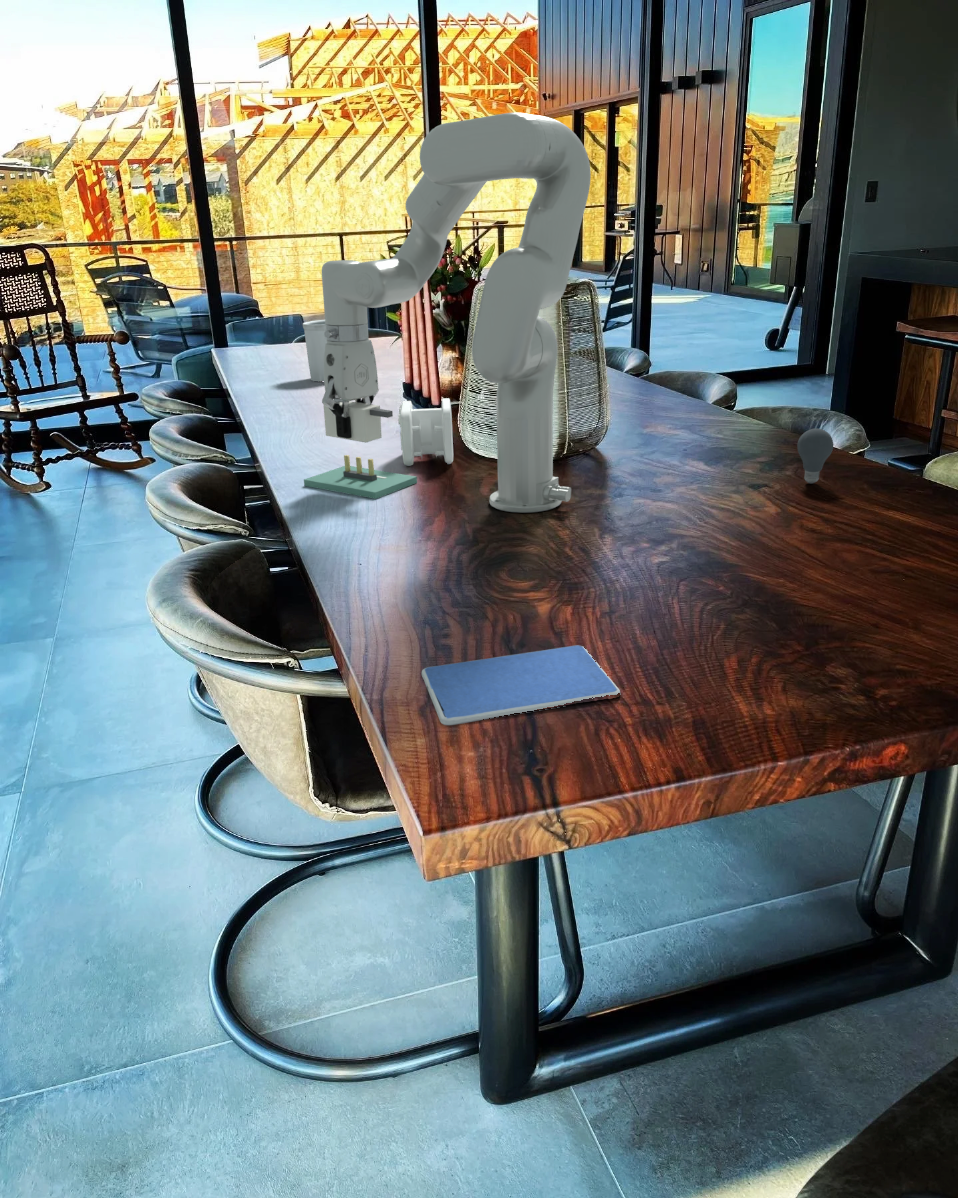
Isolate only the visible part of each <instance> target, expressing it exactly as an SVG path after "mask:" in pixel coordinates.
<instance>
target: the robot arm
mask: <svg viewBox="0 0 958 1198" xmlns="http://www.w3.org/2000/svg"><path fill="white" fill-rule="evenodd" d="M419 163H420V166H421V170H422V172H423V175H422V176H421V177H420V179H419V181H418V182H417V183H416V185H415V186H414V188H413V189H412V191H411V192H410V194H409V195H408V196H407V197H406V201H405V211H406V213H407V215H408V216H409V218H410V219H411V222H412V223H411V227H410V228H411V229H410V231H409V233H408V235H407V237H406V239H405V241H403V243H402V244H401V246H400V248H399V249H398V251H397V252H396V253H395V254H394V256H393V257H392V258H383V259H377V260H368V261H363V262H360V261H358V260H351V259H350V260H349V259H346V260H345V259H344V260H343V259H342V260H341V259H339V260H330V261H326V262H324V263H323V264H322V267H321V283H322V295H323V297H322V298H323V308H324V309H323V310H324V312H323V313H324V320H325V326H326V331H325V333H324V335H325V337H326V339H327V343H326V344H325V354H324V382H323V383H324V394H323V398H322V400H321V403H322V404H324V405H325V406H327V407H328V408H329V409H330V410H331V411H332V412H333V415H334V416H336V430H337V436H338V437H342V438H348V439H349V438H351V437H352V435H351V420H350V417H349V416H348V408H349V401H351V402H353V401H354V402H358V403H365V404H372V405H373V401H374V399H375V397H376V395H377V394H378V393H379V390H380V388H379V379H378V369H377V368H378V367H377V361H376V356H375V355H376V354H375V350H374V346H373V343H372V339H369V324H368V323H369V322H368V308H372V309H373V308H374V309H376V308H382V307H387V306H390V305H396V304H402V303H405V302H406V303H407V302H408V301H410V300H411V299H413V298H414V297H415V296H416V295H417V294H418V293H419V292H420V291H421V290H422V288H423V287H424V286H425V284H426V283H427V281H428V280H429V279H430V278H431V277H432V275H433V274H434V273H435V270H436V269H437V268H438V266H439V264H440V262H441V260H442V259H443V258H442V257H443V256H444V252H445V248H446V247H447V246H446V245H447V241H448V237H449V234H450V233H451V231H452V230H453V229H454V227H455V226H456V224H457V223H458V222H459V220H460V219H461V217H462V216H463V214H464V213H465V211H466V210H467V209H468V207H469V206H470V204H471V203H472V202H473V200H474V199H475V198H476V197H477V195H478V194H479V193H480V191H481V190H482V188H483V187H484V186H485V184H486V183H487V182H493V181H498V180H499V181H500V180H509V179H512V180H513V179H529V180H530V179H531V180H535V182H536V189H535V192H534V195H533V196H532V198H531V201H530V204H529V205H528V208H527V211H526V216H525V220H524V227H523V229H522V230H523V231H522V234H521V238H520V242H519V244H518V247H514V248H510V249H508V250H506V251H505V252H502V253H501V254H500V255H499V256H498V257H496V258H495V260H494V261H493V262H492V265H491V266H490V267H489V270H488V272H487V275H486V277H485V280H484V285H483V288H482V293H481V298H480V303H479V307H478V313H477V317H476V322H475V325H474V326H475V327H474V332H473V336H472V342H471V343H472V344H471V345H472V346H471V356H472V362H473V364H474V366H475V369H476V370H477V372H478V374H479V375H480V376H481V377H482V378H484V379H485V380H486V381H488V382H491V383H494V384H497V389H496V401H495V402H496V408H495V409H496V442H497V443H496V448H497V449H496V450H497V451H496V453H497V490H496V491H494V492H492V493H491V494H490V496H489V504H490V506H491V507H493V508H495V509H497V510H499V511H504V512H510V513H523V514H527V513H538V512H539V513H540V512H544V511H549V510H553V509H555V508H556V507H559V506H560V505H561V504H562V502H569V501H570V500H571V498H572V487H571V486H570V487H569V486H563V485H562V486H560V484H559V477H558V476H554V475H553V474H554V473H553V472H554V471H553V470H554V463H553V462H554V461H553V460H554V459H553V458H554V455H553V454H554V453H553V451H554V447H553V446H554V437H553V436H554V435H553V434H554V431H553V429H554V428H553V427H554V425H553V423H554V422H553V421H554V385H555V376H556V368H557V367H556V366H557V359H558V341H557V336H556V333H555V330H554V329H553V327H552V326H551V324H550V323H549V322H548V321H547V320H546V319H544V318H543V317H541V316H539V313H540V310H543V309H547V308H550V307H552V306H553V305H555V304H557V303H558V302H559V300H560V299H562V297H563V295H564V293H565V291H566V288H567V285H568V281H569V277H570V271H571V267H572V264H573V259H574V254H575V251H576V247H577V244H578V239H579V233H580V229H581V225H582V221H583V216H584V215H585V214H584V213H585V209H586V205H587V201H588V197H589V192H590V187H591V176H592V175H591V173H592V171H591V164H590V159H589V155H588V152H587V150H586V148H585V146H584V144H583V142H582V141H581V139H580V138H579V137H578V136H577V134H576V133H575V132H574V131H573V130H572V129H571V128H569V126H567V125H566V124H564V123H563V122H561V121H559V120H556V119H554V118H551V117H548V116H543V115H538V114H529V113H524V112H505V113H500V114H499V113H498V114H493V115H488V116H487V115H486V116H482V117H476V118H470V119H464V120H459V121H453V122H451V121H450V122H444V123H441V124H439V125H437V126H435V127H434V128H432V129H431V130H430V131H429V132H428V133H427V134H426V136H425V138H424V139H423V140H422V144H421V147H420V151H419ZM340 402H342V407H341V406H340ZM324 405H323V406H324ZM342 438H341V439H342ZM348 439H347V440H348Z"/></svg>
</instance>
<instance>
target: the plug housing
mask: <svg viewBox="0 0 958 1198" xmlns="http://www.w3.org/2000/svg"><path fill="white" fill-rule="evenodd" d="M322 404H323V403H322ZM340 406H341V407H342V402H340ZM393 413H394V412H393V410H390V409H382V408H381V405H378V404H373V403H372V404H365V403H358V402H355V401H349V408H348V416H349V417H350V420H351V435H352V437H351V438H349V439H348V438H342V437H338V436H337V430H336V416H334V415H333V412H332V411H331V410H330V409H329V408H328V407H327V406H325V405H324V404H323V414H324V415H323V416H324V428H325V429H324V430H325V436H326V437H331V438H337V439H342V440H348V441H355V442H359V443H364V444H365V443H369V442H373V441H376V440H379V439H382V419H381V418H387V419H389V418H392V417H393Z"/></svg>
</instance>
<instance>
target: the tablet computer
mask: <svg viewBox="0 0 958 1198" xmlns="http://www.w3.org/2000/svg"><path fill="white" fill-rule="evenodd" d="M584 647H585V646H582V645H577V644H576V645H569V646H563V647H557V648H551V649H550V648H549V649H545V650H536V651H530V652H522V653H516V654H509V655H502V656H496V657H490V658H481V659H476V660H475V659H474V660H470V661H469V660H468V661H462V662H461V661H460V662H455V663H447V664H442V665H441V664H440V665H434V666H428V667H425V668H423V669H422V670H421V676H422V679H423V680H424V684H425V687H426V689H427V691H428V694H429V696H430V699H431V702H432V704H433V706H434V710H435V712H436V715H437V716H438V720H439V722H440V723H441V724H442V725H444V726H455V725H461V724H462V725H463V724H466V723H473V722H479V721H484V720H489V718H490V719H494V717H496V718H499V716H502V717H505V716H504V715H508V716H511V715H510V714H514V713H520V714H523V713H522V712H526V713H528V712H527V711H533V712H535V711H534V710H537V709H543V708H547V707H554V706H558V705H564V704H566V703H572V702H574V701H581V700H583V699H589V698H592V697H593V698H595V697H601V696H602V697H604V696H606V695H609V696H610V695H617V694H618V693H620V694H621V690H620V688H619V687H618V686H617V684H616V683H615V682H613V680H612V679H611V678H610V676H609V675H608V674H607V673H606V671H604V669H603V668H602V667H601V666H600V665H599V663H598V662H597V661H596V659H595V658H594V657H593V656H592V655H591V653H590V652H589V651H588V649H587V648H586V647H585V648H586V649H585V648H584ZM588 652H589V653H590V654H589V653H588ZM592 657H593V658H594V659H595V660H594V659H593V658H592ZM595 661H596V662H595ZM600 667H601V668H600ZM607 675H608V676H607ZM593 698H592V699H593ZM514 715H515V714H514ZM483 719H484V720H483Z"/></svg>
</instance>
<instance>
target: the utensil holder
mask: <svg viewBox="0 0 958 1198" xmlns="http://www.w3.org/2000/svg"><path fill="white" fill-rule="evenodd" d="M302 328H303V330H304V331H303V332H304V338H305V339H304V340H305V346H306V347H305V348H306V354H307V363H308V368H309V373H310V380H311V381H312V380H313V381H312V382H314V381H324V354H325V344H326V343H327V339H326V337H325V335H324V333H325V331H326V326H325V319H317V320H310V321H305V322H303V323H302Z"/></svg>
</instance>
